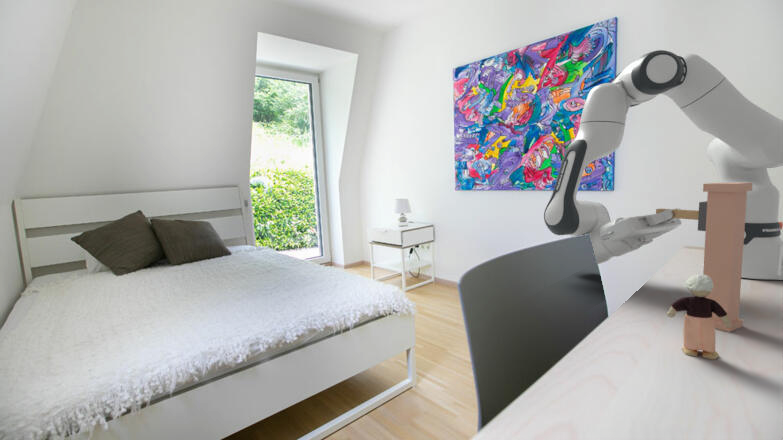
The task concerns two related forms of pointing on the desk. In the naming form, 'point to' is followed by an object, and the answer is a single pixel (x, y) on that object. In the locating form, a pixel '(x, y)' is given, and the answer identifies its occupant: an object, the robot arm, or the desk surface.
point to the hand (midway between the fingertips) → (676, 211)
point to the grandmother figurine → (699, 317)
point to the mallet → (692, 215)
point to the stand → (725, 246)
